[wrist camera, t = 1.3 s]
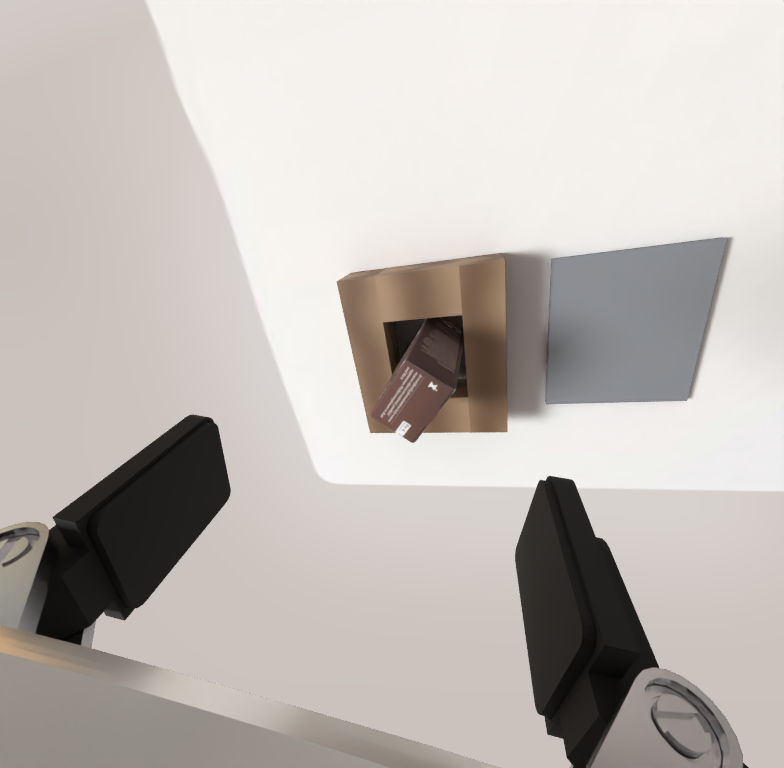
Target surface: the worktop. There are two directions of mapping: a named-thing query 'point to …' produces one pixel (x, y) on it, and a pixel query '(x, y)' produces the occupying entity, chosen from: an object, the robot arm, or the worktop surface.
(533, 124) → the worktop surface
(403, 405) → the box
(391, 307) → the pocket block
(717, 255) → the mat
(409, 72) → the worktop surface
